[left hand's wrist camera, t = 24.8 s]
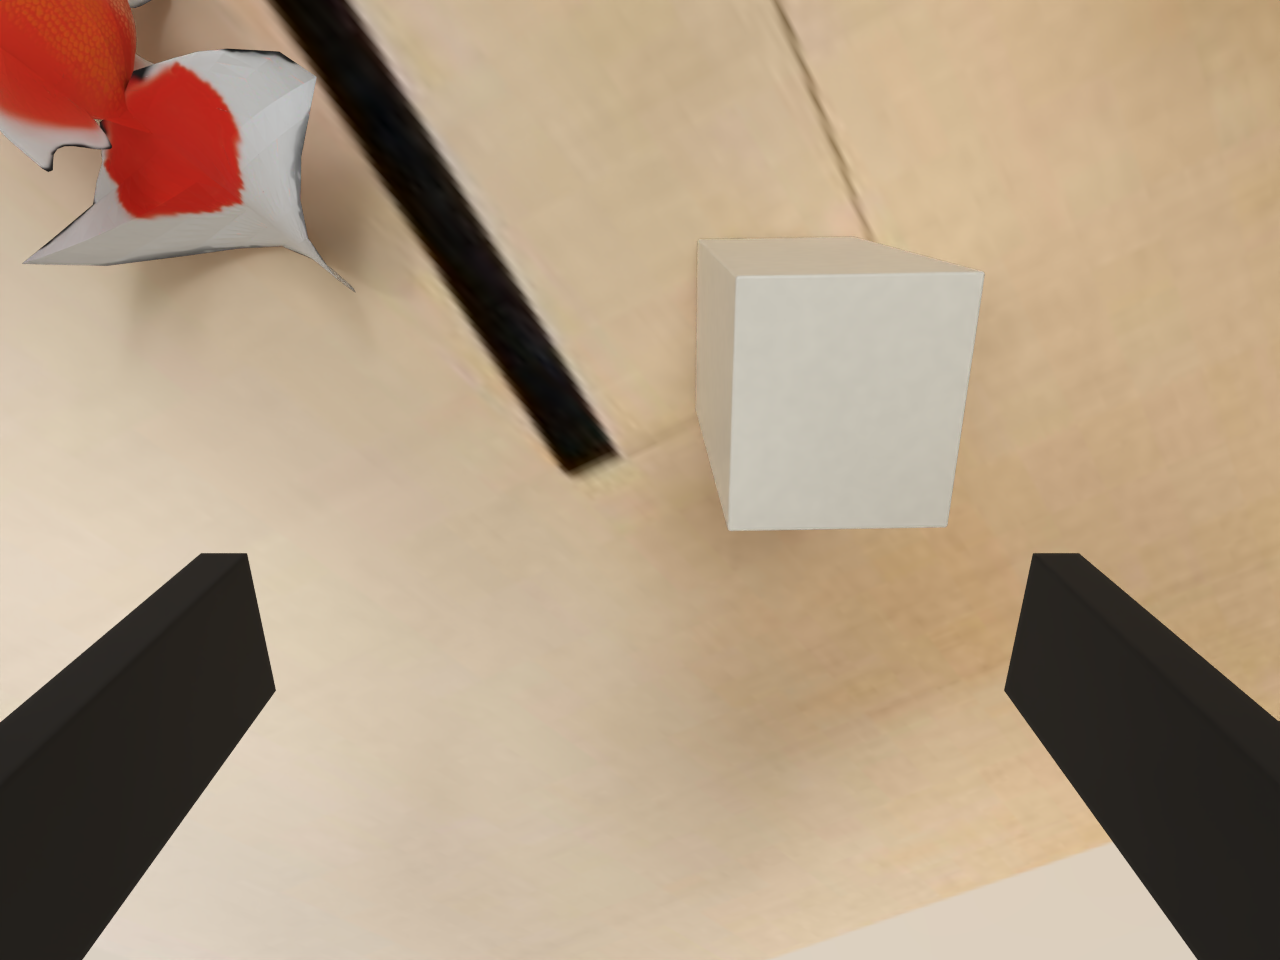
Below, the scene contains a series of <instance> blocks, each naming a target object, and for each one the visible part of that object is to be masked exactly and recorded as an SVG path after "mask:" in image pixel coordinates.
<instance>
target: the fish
mask: <svg viewBox="0 0 1280 960" xmlns="http://www.w3.org/2000/svg"><path fill="white" fill-rule="evenodd" d="M149 1H151V0H0V131H1V132H2V133H3V134H4V135H5V137H6V138H7V139H9V140H10V141H11V142H12V143H13V144H14V145H15V146H17V147H18V148H19V149H20V150H21V151H22V152H24V153H25V154H26V155H27V156H28V157H29V158H31V159H32V160H33V161H34V162H35V163H36V164H38V165H39V166H40V167H41V168H42V169H44V170H46V171H48V172H49V171H52V170H53V155H54V153H55V152H56V150H57V149H58V148H61V147H64V146H77V147H85V148H92V149H101V150H102V165H101V168H100V172H99V175H98V179H97V183H96V189H95V196H94V202H93V205H92V206H91V207H90V208H89V209H87V210H86V211H85V212H84V213H83V214H82V215H80V216H79V217H78V218H77V219H76V220H74V221H73V222H72V223H71V224H70V225H68V226H67V227H66V228H65V229H64V230H62V231H61V232H60V233H59V234H58V235H57V236H55V237H54V238H53V239H52V240H51V241H49V242H48V243H47V244H46V245H44V246H43V247H42V248H41V249H39V250H38V251H37V252H36V253H34V254H33V255H32V256H31V257H30V258H28V259H27V260H26V261H25V262H23V263H22V264H52V265H97V266H108V265H116V264H124V263H132V262H140V261H148V260H156V259H164V258H172V257H180V256H188V255H195V254H202V253H209V252H216V251H224V250H231V249H238V248H257V247H276V246H282V247H285V248H287V249H290V250H292V251H295V252H297V253H300V254H302V255H305V256H307V257H309V258H311V259H313V260H314V261H316V262H317V263H318V264H319V265H321V266H322V267H323V268H324V269H326V270H327V271H328V272H329V273H331V274H332V275H333V276H334V277H335V278H336V279H338V280H339V281H340V282H342V283H343V284H344V285H346V286H347V287H348V288H350V289H351V290H353V291H354V292H355V290H354V289H353V287H352V286H351V285H350V284H348V283H347V282H346V281H345V280H344V279H343V278H342V277H341V276H339V275H338V274H337V273H336V272H335V271H334V270H333V269H331V268H330V267H329V266H327V265H326V263H325V262H324V261H323V259H322V258H321V256H320V255H319V253H318V252H317V250H316V249H315V247H314V246H313V244H312V243H311V242H310V240H309V239H308V235H307V230H306V226H305V221H304V216H303V211H302V206H301V155H302V150H303V144H304V139H305V134H306V129H307V123H308V118H309V113H310V108H311V103H312V98H313V93H314V88H315V83H316V76H314V75H313V74H311V73H310V72H308V71H307V70H305V69H304V68H303V67H301V66H300V65H298V64H297V63H295V62H294V61H292V60H291V59H289V58H288V57H286V56H285V55H283V54H282V53H280V52H276V51H258V50H240V49H220V50H210V51H200V52H194V53H191V54H187V55H183V56H179V57H176V58H172V59H169V60H166V61H163V62H159V63H156V64H153V63H151V62H149V61H147V60H145V59H144V58H142V57H140V56H139V55H137V54H135V53H136V30H135V23H134V19H133V15H132V11H131V8H130V7H132V8H136V7H139V6H142V5H143V4H145V3H147V2H149ZM94 119H101V120H102V121H101V122H100V127H99V125H98V124H97V123H96V122H95V120H94Z"/></svg>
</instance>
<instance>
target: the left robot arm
mask: <svg viewBox="0 0 1280 960" xmlns="http://www.w3.org/2000/svg"><path fill="white" fill-rule="evenodd" d="M275 691H276V689H275V684H274V680H273V675H272V670H271V665H270V661H269V656H268V651H267V646H266V642H265V637H264V632H263V627H262V623H261V618H260V613H259V608H258V604H257V599H256V594H255V589H254V585H253V580H252V575H251V570H250V565H249V561H248V556H247V553H201V554H200V555H199V556H197V557H196V558H195V559H194V560H193V561H191V562H190V563H189V564H188V565H187V566H185V567H184V568H183V569H182V570H181V571H180V572H178V573H177V574H176V575H175V576H174V577H172V578H171V579H170V580H169V581H168V582H166V583H165V584H164V585H163V586H162V587H161V588H159V589H158V590H157V591H156V592H155V593H153V594H152V595H151V596H150V597H149V598H147V599H146V600H145V601H144V602H143V603H142V604H140V605H139V606H138V607H137V608H136V609H134V610H133V611H132V612H131V613H130V614H129V615H127V616H126V617H125V618H124V619H123V620H121V621H120V622H119V623H118V624H117V625H115V626H114V627H113V628H112V629H111V630H110V631H108V632H107V633H106V634H105V635H104V636H102V637H101V638H100V639H99V640H98V641H96V642H95V643H94V644H93V645H92V646H91V647H89V648H88V649H87V650H86V651H85V652H83V653H82V654H81V655H80V656H79V657H77V658H76V659H75V660H74V661H73V662H72V663H70V664H69V665H68V666H67V667H66V668H64V669H63V670H62V671H61V672H60V673H58V674H57V675H56V676H55V677H54V678H53V679H51V680H50V681H49V682H48V683H47V684H45V685H44V686H43V687H42V688H41V689H39V690H38V691H37V692H36V693H35V694H34V695H32V696H31V697H30V698H29V699H28V700H26V701H25V702H24V703H23V704H22V705H20V706H19V707H18V708H17V709H16V710H15V711H13V712H12V713H11V714H10V715H9V716H7V717H6V718H5V719H4V720H3V721H1V722H0V960H82V959H83V958H84V957H85V955H86V954H87V952H88V951H89V950H90V948H91V947H92V946H93V944H94V943H95V941H96V940H97V939H98V937H99V936H100V934H101V933H102V932H103V930H104V929H105V927H106V926H107V925H108V923H109V922H110V921H111V919H112V918H113V916H114V915H115V914H116V912H117V911H118V909H119V908H120V907H121V905H122V904H123V902H124V901H125V900H126V898H127V897H128V895H129V894H130V893H131V891H132V890H133V889H134V887H135V886H136V884H137V883H138V882H139V880H140V879H141V877H142V876H143V875H144V873H145V872H146V870H147V869H148V868H149V866H150V865H151V863H152V862H153V861H154V859H155V858H156V857H157V855H158V854H159V852H160V851H161V850H162V848H163V847H164V845H165V844H166V843H167V841H168V840H169V838H170V837H171V836H172V834H173V833H174V831H175V830H176V829H177V827H178V826H179V825H180V823H181V822H182V820H183V819H184V818H185V816H186V815H187V813H188V812H189V811H190V809H191V808H192V806H193V805H194V804H195V802H196V801H197V799H198V798H199V797H200V795H201V794H202V793H203V791H204V790H205V788H206V787H207V786H208V784H209V783H210V781H211V780H212V779H213V777H214V776H215V774H216V773H217V772H218V770H219V769H220V767H221V766H222V765H223V763H224V762H225V760H226V759H227V758H228V756H229V755H230V754H231V752H232V751H233V749H234V748H235V747H236V745H237V744H238V742H239V741H240V740H241V738H242V737H243V735H244V734H245V733H246V731H247V730H248V728H249V727H250V726H251V724H252V723H253V722H254V720H255V719H256V717H257V716H258V715H259V713H260V712H261V710H262V709H263V708H264V706H265V705H266V703H267V702H268V701H269V699H270V698H271V696H272V695H273V694H274V692H275ZM1004 691H1005V692H1006V694H1007V695H1008V696H1009V698H1010V699H1011V701H1012V702H1013V703H1014V705H1015V706H1016V708H1017V709H1018V710H1019V712H1020V713H1021V715H1022V716H1023V717H1024V719H1025V720H1026V722H1027V723H1028V724H1029V726H1030V727H1031V728H1032V730H1033V731H1034V733H1035V734H1036V735H1037V737H1038V738H1039V740H1040V741H1041V742H1042V744H1043V745H1044V747H1045V748H1046V749H1047V751H1048V752H1049V754H1050V755H1051V756H1052V758H1053V759H1054V760H1055V762H1056V763H1057V765H1058V766H1059V767H1060V769H1061V770H1062V772H1063V773H1064V774H1065V776H1066V777H1067V779H1068V780H1069V781H1070V783H1071V784H1072V786H1073V787H1074V788H1075V790H1076V791H1077V793H1078V794H1079V795H1080V797H1081V798H1082V799H1083V801H1084V802H1085V804H1086V805H1087V806H1088V808H1089V809H1090V811H1091V812H1092V813H1093V815H1094V816H1095V818H1096V819H1097V820H1098V822H1099V823H1100V825H1101V826H1102V827H1103V829H1104V830H1105V831H1106V833H1107V834H1108V836H1109V837H1110V838H1111V840H1112V841H1113V843H1114V844H1115V845H1116V847H1117V848H1118V849H1119V851H1120V852H1121V854H1122V855H1123V856H1124V858H1125V859H1126V861H1127V862H1128V863H1129V865H1130V866H1131V868H1132V869H1133V870H1134V872H1135V873H1136V875H1137V876H1138V877H1139V879H1140V880H1141V882H1142V883H1143V884H1144V886H1145V887H1146V889H1147V890H1148V891H1149V893H1150V894H1151V895H1152V897H1153V898H1154V900H1155V901H1156V902H1157V904H1158V905H1159V907H1160V908H1161V909H1162V911H1163V912H1164V914H1165V915H1166V916H1167V918H1168V919H1169V920H1170V922H1171V923H1172V925H1173V926H1174V927H1175V929H1176V930H1177V932H1178V933H1179V934H1180V936H1181V937H1182V939H1183V940H1184V941H1185V943H1186V944H1187V946H1188V947H1189V948H1190V950H1191V951H1192V953H1193V954H1194V955H1195V957H1196V958H1197V959H1198V960H1280V721H1277V720H1276V719H1275V718H1274V717H1273V716H1271V715H1270V714H1269V713H1268V712H1267V711H1265V710H1264V709H1263V708H1262V707H1261V706H1260V705H1258V704H1257V703H1256V702H1255V701H1254V700H1252V699H1251V698H1250V697H1249V696H1248V695H1246V694H1245V693H1244V692H1243V691H1242V690H1241V689H1239V688H1238V687H1237V686H1236V685H1235V684H1233V683H1232V682H1231V681H1230V680H1229V679H1227V678H1226V677H1225V676H1224V675H1223V674H1222V673H1220V672H1219V671H1218V670H1217V669H1216V668H1214V667H1213V666H1212V665H1211V664H1210V663H1208V662H1207V661H1206V660H1205V659H1204V658H1203V657H1201V656H1200V655H1199V654H1198V653H1197V652H1195V651H1194V650H1193V649H1192V648H1191V647H1189V646H1188V645H1187V644H1186V643H1185V642H1184V641H1182V640H1181V639H1180V638H1179V637H1178V636H1176V635H1175V634H1174V633H1173V632H1172V631H1170V630H1169V629H1168V628H1167V627H1166V626H1165V625H1163V624H1162V623H1161V622H1160V621H1159V620H1157V619H1156V618H1155V617H1154V616H1153V615H1152V614H1150V613H1149V612H1148V611H1147V610H1146V609H1144V608H1143V607H1142V606H1141V605H1140V604H1138V603H1137V602H1136V601H1135V600H1134V599H1133V598H1131V597H1130V596H1129V595H1128V594H1127V593H1125V592H1124V591H1123V590H1122V589H1121V588H1119V587H1118V586H1117V585H1116V584H1115V583H1114V582H1112V581H1111V580H1110V579H1109V578H1108V577H1106V576H1105V575H1104V574H1103V573H1102V572H1100V571H1099V570H1098V569H1097V568H1096V567H1095V566H1093V565H1092V564H1091V563H1090V562H1089V561H1087V560H1086V559H1085V558H1084V557H1083V556H1081V555H1080V554H1079V553H1033V556H1032V561H1031V566H1030V570H1029V575H1028V580H1027V585H1026V589H1025V594H1024V599H1023V604H1022V608H1021V613H1020V618H1019V623H1018V627H1017V632H1016V637H1015V642H1014V646H1013V651H1012V656H1011V661H1010V665H1009V670H1008V675H1007V680H1006V684H1005V689H1004Z"/></svg>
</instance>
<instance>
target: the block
mask: <svg viewBox="0 0 1280 960" xmlns="http://www.w3.org/2000/svg"><path fill="white" fill-rule="evenodd" d="M984 276H985V274H984V272H983V271H979V270H976V269H972V268H968V267H965V266H961V265H957V264H953V263H950V262H946V261H942V260H938V259H935V258H931V257H927V256H924V255H920V254H916V253H912V252H909V251H905V250H901V249H898V248H894V247H890V246H886V245H883V244H879V243H875V242H872V241H868V240H864V239H860V238H857V237H805V238H745V239H699V240H698V243H697V324H696V405H695V410H696V414H697V417H698V421H699V425H700V428H701V432H702V436H703V440H704V443H705V447H706V451H707V454H708V458H709V462H710V465H711V469H712V473H713V477H714V480H715V484H716V488H717V491H718V495H719V499H720V502H721V506H722V510H723V514H724V517H725V521H726V525H727V528H728V530H729V531H759V530H815V529H871V528H928V527H947V524H948V517H949V511H950V504H951V497H952V491H953V484H954V477H955V470H956V464H957V457H958V450H959V444H960V437H961V430H962V423H963V417H964V410H965V403H966V397H967V390H968V383H969V376H970V370H971V363H972V356H973V350H974V343H975V336H976V329H977V323H978V316H979V309H980V303H981V296H982V289H983V282H984Z"/></svg>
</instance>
